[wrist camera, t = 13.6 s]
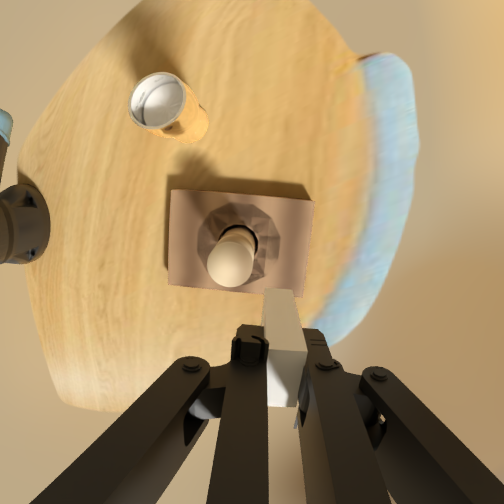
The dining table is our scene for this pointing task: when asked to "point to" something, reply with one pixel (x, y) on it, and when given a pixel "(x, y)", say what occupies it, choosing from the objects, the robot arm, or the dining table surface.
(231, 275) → the peg
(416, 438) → the robot arm
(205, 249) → the board
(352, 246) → the dining table surface
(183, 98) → the metal cup
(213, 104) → the dining table surface
